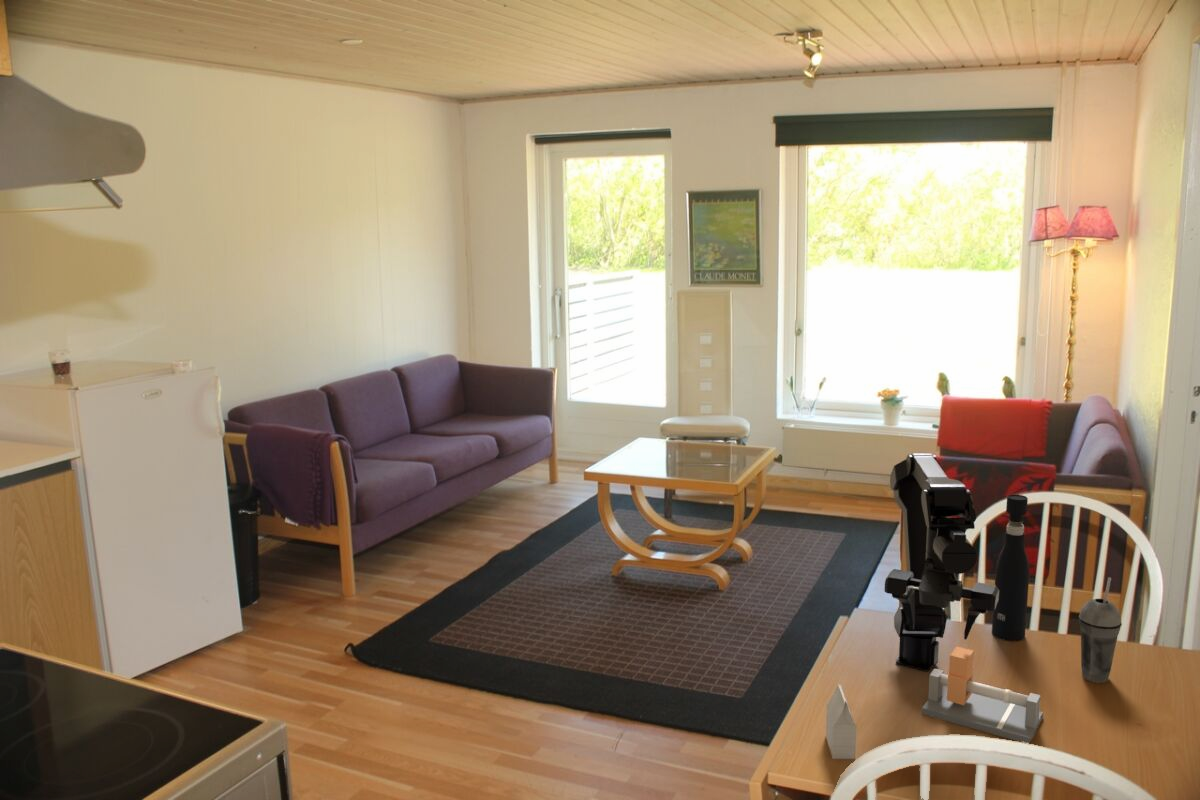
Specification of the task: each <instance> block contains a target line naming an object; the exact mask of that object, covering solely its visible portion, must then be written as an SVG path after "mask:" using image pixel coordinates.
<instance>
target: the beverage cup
mask: <svg viewBox="0 0 1200 800" xmlns="http://www.w3.org/2000/svg"><path fill="white" fill-rule="evenodd" d="M1106 581H1107V582H1106V585H1105V586H1106V588H1105V592H1104V596H1103V598H1093V599H1090V600H1089V601H1087V602H1085V603H1084V605H1082V607H1081V608H1080V611H1079V615H1078V621H1079V627H1080V653H1081V655H1080V661H1081V676H1082V677H1083V679H1085V680H1087V681H1089V682H1092V683H1097V682H1101V683H1106V681H1107V682H1108V681H1109V678H1110V674H1111V670H1112V665H1113V661H1114V660H1113V659H1114V655H1115V651H1116V645H1117V641H1118V635H1119V634H1120V630H1121V626H1122V617H1121V613H1120V611H1119V609H1118V607H1117V606H1116V605H1115V604H1114V603H1112V601H1109V600H1108V595H1109V592H1110V587H1111V581H1112V577H1110V576H1109V577H1107V580H1106ZM1101 683H1100V684H1101Z"/></svg>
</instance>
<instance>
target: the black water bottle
mask: <svg viewBox="0 0 1200 800" xmlns="http://www.w3.org/2000/svg"><path fill="white" fill-rule="evenodd" d="M1028 500H1029V499H1028V497H1027V496H1026V495H1022V494H1013V493H1012V494H1008V495H1007V497H1006V508H1005V509H1006V510H1005V512H1006V513H1007V514H1009V518H1008V523H1007V525H1006V531H1005V532H1004V542H1003V543H1004V545H1003V547H1002V549H1001V551H1000V553H999V556H998V558H997V563H996V567H995V574H994V575H995V576H994V585H996V586H997V587H998V589H999V600H998V603H997V605H996V608H995V611H992V622H991V623H992V624H991V634H992V635H993V636H994V637H995V638H997V639H999V640H1002V641H1006V642H1007V641H1008V642H1020V641H1023V640H1025V637H1026V629H1027V628H1026V627H1027V626H1026V625H1027V610H1028V598H1029V595H1028V594H1029V583H1030V564H1029V559H1028V555H1027V552H1026V549H1025V537H1026V533H1025V525H1024V524H1023V522H1024V520H1023V519H1024V516H1025V515H1027V512H1028V502H1029V501H1028Z"/></svg>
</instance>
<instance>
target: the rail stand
mask: <svg viewBox="0 0 1200 800" xmlns="http://www.w3.org/2000/svg"><path fill="white" fill-rule="evenodd" d="M947 686H948V674H945V673H944V670H942V669H938V668H934V669H932V671H931V672H930V674H929V680H928V699H927V701H926V702H925V703H924V705H923V706H922V707H921V714H922V715H925V716H927V717H928V716H929V717H931V718H936V719H939V720H941V721H946V722H949V723H953V724H956V725H960V726H963V727H967V728H970V729H974V730H977V731H981V732H985V733H987V734H991V735H994V736H995V735H996V736H998V737H1002V738H1005V739H1009V740H1012V741H1016V740H1017V741H1016V742H1019V741H1024V742H1028V743H1030V744H1031V742H1032V740H1033V739H1034V736H1035V734H1036V733H1037V731H1038V728H1039V726H1040V724H1041V722H1042V720H1043V716H1044V712H1043V711H1041V710H1040V707H1041V695H1040V694H1037V693H1033V692H1030V693H1029V694H1022V693H1018V692H1014V691H1012V690H1011V689H1009V688H1007V689H1006V688H1005V689H1003V688H999V687H996V686H992V685H987V684H984V683H980V682H977V681H969V680H968V681H967V688H966V692H970V693H972V694H971V695H970V697H969V698H968V700H967V702H966V703H965V705H961V704H958V703H954V702H950V701H947Z"/></svg>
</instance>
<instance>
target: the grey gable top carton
mask: <svg viewBox="0 0 1200 800" xmlns="http://www.w3.org/2000/svg"><path fill="white" fill-rule="evenodd" d="M836 684H837V685H836V688H835V690H834V692H833V694H832V695H831V697H830V699H829V700H828V702H827V704H826V713H825V715H826V717H825V719H826V721H825V724H826V725H825V738H826V742H827V744H828V748H829V751H830V755H831V758H832V760H856V752H857V751H856V749H857V747H856V746H857V725H856V722H855V719H854V716H853V713H852V711H851V708H850V706H849V703H848V701H847V699H846V697H845V694H844V691H843V688H842V685H841V684H839V683H836Z"/></svg>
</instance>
